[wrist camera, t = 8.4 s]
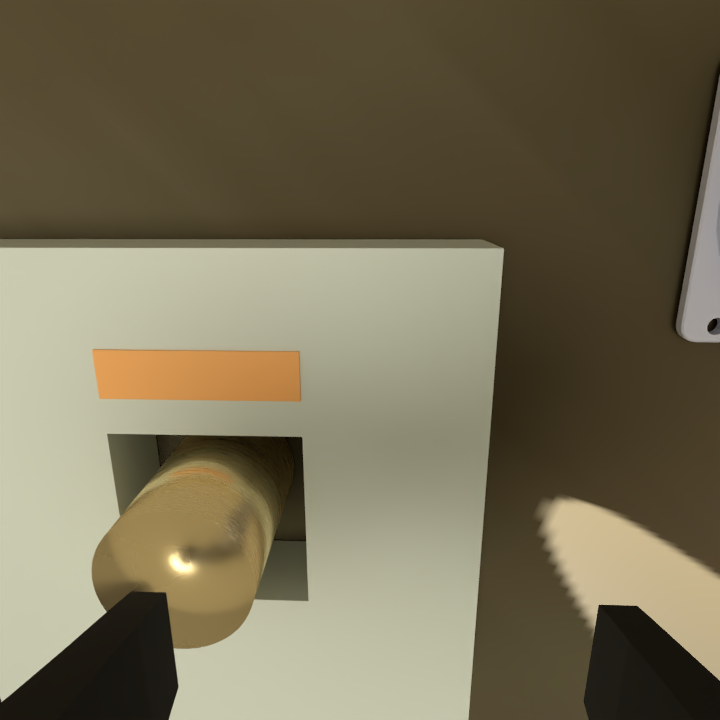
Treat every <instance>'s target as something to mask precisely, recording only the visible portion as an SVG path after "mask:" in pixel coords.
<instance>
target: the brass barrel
mask: <svg viewBox="0 0 720 720" xmlns="http://www.w3.org/2000/svg"><path fill="white" fill-rule="evenodd" d="M294 468H295V467H294V458H293V454H292V451H291V448H290V446H289V444H288V442H287V440H286V439H285V438H284V437H279V436H218V435H187V436H186V437H185V438H184V439H183V441H182V442H181V443H180V444H179V446H178V447H177V448H176V449H175V450H174V452H173V453H172V454H171V455H170V456H169V458H168V459H167V460H166V461H165V463H164V464H163V465H162V466H161V467H160V469H159V470H158V471H157V472H156V474H155V475H154V476H153V477H152V478H151V480H150V481H149V482H148V483H147V485H146V486H145V487H144V488H143V489H142V491H141V492H140V493H139V494H138V495H137V497H136V498H135V499H134V500H133V502H132V503H131V504H130V505H129V506H128V508H127V509H126V510H125V511H124V513H123V514H122V515H121V516H120V517H119V519H118V520H117V521H116V522H115V523H114V525H113V526H112V527H111V528H110V530H109V531H108V532H107V533H106V534H105V536H104V537H103V538H102V540H101V541H100V543H99V544H98V546H97V548H96V551H95V553H94V557H93V560H92V569H91V570H92V581H93V586H94V589H95V592H96V595H97V597H98V599H99V601H100V603H101V605H102V606H103V607H104V609H105V610H106V612H107V611H108V610H110V609H111V608H112V607H113V606H114V605H115V604H117V603H118V602H119V601H120V600H121V599H123V598H124V597H125V596H126V595H127V594H129V593H130V592H131V591H135V592H166V595H167V602H168V610H169V617H170V625H171V632H172V640H173V648H176V649H192V648H200V647H205V646H209V645H212V644H215V643H217V642H220V641H222V640H224V639H226V638H227V637H229V636H230V635H232V634H233V633H234V632H235V631H236V630H238V629H239V627H240V626H241V625H242V624H243V623H244V621H245V620H246V618H247V617H248V615H249V613H250V610H251V608H252V605H253V602H254V599H255V595H256V592H257V589H258V586H259V583H260V580H261V577H262V574H263V571H264V568H265V564H266V561H267V558H268V555H269V552H270V549H271V546H272V543H273V540H274V536H275V533H276V530H277V527H278V524H279V521H280V518H281V515H282V512H283V509H284V505H285V502H286V499H287V496H288V493H289V490H290V487H291V484H292V481H293V476H294Z"/></svg>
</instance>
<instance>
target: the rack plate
mask: <svg viewBox="0 0 720 720" xmlns="http://www.w3.org/2000/svg"><path fill="white" fill-rule="evenodd" d="M503 255H504V248H502V247H499V246H497V245H494V244H492V243H490V242H487V241H485V240H482V239H0V699H1V702H2V701H3V700H5V699H6V698H7V697H8V696H10V695H11V694H12V693H13V692H14V691H16V690H17V689H18V688H19V687H20V686H21V685H23V684H24V683H25V682H26V681H27V680H29V679H30V678H31V677H32V676H33V675H34V674H36V673H37V672H38V671H39V670H40V669H41V668H43V667H44V666H45V665H46V664H47V663H49V662H50V661H51V660H52V659H53V658H54V657H56V656H57V655H58V654H59V653H60V652H61V651H63V650H64V649H65V648H66V647H67V646H68V645H70V644H71V643H72V642H73V641H74V640H75V639H76V638H78V637H79V636H80V635H81V634H82V633H83V632H84V631H86V630H87V629H88V628H89V627H90V626H91V625H92V624H94V623H95V622H96V621H97V620H98V619H99V618H100V617H102V616H103V615H104V614H105V613H106V610H105V609H104V607H103V606H102V605H101V603H100V601H99V599H98V597H97V595H96V592H95V589H94V586H93V581H92V570H91V569H92V560H93V557H94V553H95V551H96V548H97V546H98V544H99V543H100V541H101V540H102V538H103V537H104V536H105V534H106V533H107V532H108V531H109V530H110V528H111V527H112V526H113V525H114V523H115V522H116V521H117V520H118V519H119V517H120V516H121V515H122V514H123V513H124V511H125V510H126V509H127V508H128V506H129V505H130V504H131V503H132V502H133V500H134V499H135V498H136V497H137V495H138V494H139V493H140V492H141V491H142V489H143V488H144V487H145V486H146V485H147V483H148V482H149V481H150V480H151V478H152V477H153V476H154V475H155V474H156V472H157V471H158V470H159V469H160V463H159V455H158V447H157V439H156V435H218V436H279V437H302V439H303V466H304V493H305V520H306V541H277V540H273V543H272V546H271V549H270V552H269V555H268V558H267V561H266V564H265V568H264V571H263V574H262V577H261V580H260V583H259V586H258V589H257V592H256V595H255V599H254V602H253V605H252V608H251V610H250V613H249V615H248V617H247V618H246V620H245V621H244V623H243V624H242V625H241V626H240V627H239V629H238V630H236V631H235V632H234V633H233V634H232V635H230V636H229V637H227V638H226V639H224V640H222V641H220V642H217V643H215V644H212V645H209V646H205V647H200V648H192V649H176V648H174V655H175V663H176V670H177V678H178V686H179V687H178V690H177V694H176V697H175V700H174V704H173V707H172V710H171V714H170V717H169V720H468V717H469V704H470V690H471V677H472V664H473V651H474V638H475V624H476V611H477V598H478V585H479V572H480V558H481V545H482V532H483V519H484V506H485V492H486V479H487V466H488V453H489V440H490V426H491V413H492V400H493V387H494V373H495V360H496V347H497V334H498V321H499V307H500V294H501V281H502V268H503Z"/></svg>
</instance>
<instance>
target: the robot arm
mask: <svg viewBox="0 0 720 720" xmlns="http://www.w3.org/2000/svg"><path fill="white" fill-rule="evenodd" d="M715 318H717V323H718V324H717V326H716V328H715V329H713V330H712V331H709V332H708V331H707V326H708V323H709V322H710V321H711V320H712V319H715ZM676 330H677V332H678V334H679V335H680V336H681V337H682V338H684V339H686V340H688V341H692V342H720V76H719V82H718V88H717V93H716V99H715V105H714V110H713V116H712V122H711V127H710V133H709V139H708V145H707V150H706V156H705V162H704V167H703V173H702V179H701V184H700V190H699V196H698V201H697V207H696V213H695V218H694V224H693V230H692V235H691V241H690V247H689V252H688V258H687V264H686V269H685V275H684V281H683V286H682V292H681V298H680V304H679V309H678V315H677V321H676ZM178 687H179V686H178V678H177V670H176V663H175V655H174V648H173V640H172V632H171V625H170V617H169V610H168V602H167V595H166V592H135V591H131V592H130V593H129V594H127V595H126V596H125V597H124V598H123V599H121V600H120V601H119V602H118V603H117V604H115V605H114V606H113V607H112V608H111V609H110V610H108V611H107V612H106V613H105V614H104V615H103V616H102V617H100V618H99V619H98V620H97V621H96V622H95V623H94V624H92V625H91V626H90V627H89V628H88V629H87V630H86V631H84V632H83V633H82V634H81V635H80V636H79V637H78V638H76V639H75V640H74V641H73V642H72V643H71V644H70V645H68V646H67V647H66V648H65V649H64V650H63V651H61V652H60V653H59V654H58V655H57V656H56V657H54V658H53V659H52V660H51V661H50V662H49V663H47V664H46V665H45V666H44V667H43V668H41V669H40V670H39V671H38V672H37V673H36V674H34V675H33V676H32V677H31V678H30V679H29V680H27V681H26V682H25V683H24V684H23V685H21V686H20V687H19V688H18V689H17V690H16V691H14V692H13V693H12V694H11V695H10V696H8V697H7V698H6V699H5V700H3V701H2V702H1V703H0V720H169V717H170V714H171V710H172V707H173V704H174V700H175V697H176V694H177V690H178ZM584 704H585V708H586V711H587V715H588V718H589V720H720V681H719V680H718V679H717V678H716V677H715V676H714V675H713V674H712V673H710V671H708V670H707V669H706V668H705V667H704V666H703V665H702V664H701V663H699V661H697V660H696V659H695V658H694V657H693V656H692V655H691V654H690V653H689V652H688V651H686V650H685V649H684V648H683V647H682V646H681V645H680V644H679V643H678V642H677V641H675V640H674V639H673V638H672V637H671V636H670V635H669V634H668V633H667V632H666V631H665V630H663V629H662V628H661V627H660V626H659V625H658V624H657V623H656V622H655V621H654V620H652V619H651V618H650V617H649V616H648V615H647V614H646V613H645V612H643V611H642V610H641V609H640V608H639V607H638V606H620V605H599V608H598V613H597V620H596V626H595V633H594V639H593V645H592V652H591V658H590V664H589V671H588V677H587V683H586V690H585V696H584Z"/></svg>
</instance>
